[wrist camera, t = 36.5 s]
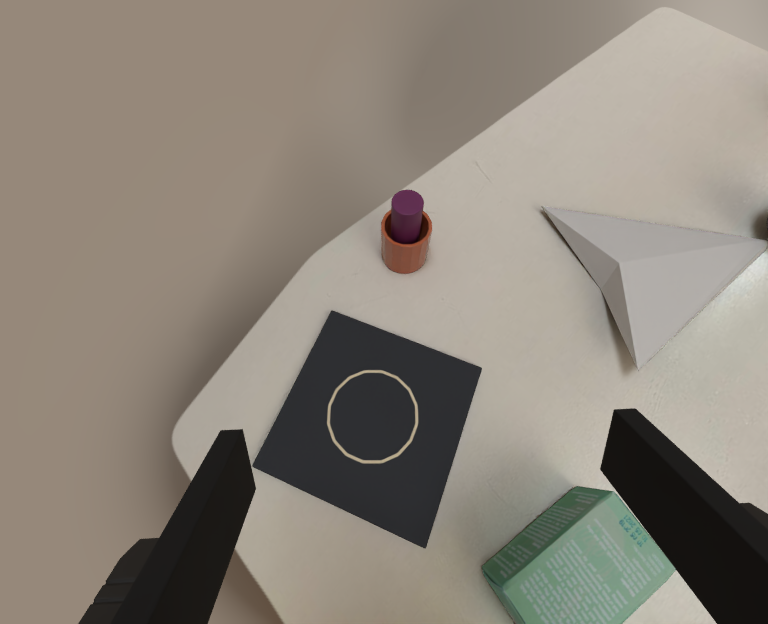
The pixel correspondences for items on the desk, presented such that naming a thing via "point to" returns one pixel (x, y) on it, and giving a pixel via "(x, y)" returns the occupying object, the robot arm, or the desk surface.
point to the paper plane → (654, 271)
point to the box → (579, 563)
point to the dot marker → (406, 217)
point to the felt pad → (372, 426)
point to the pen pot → (405, 247)
